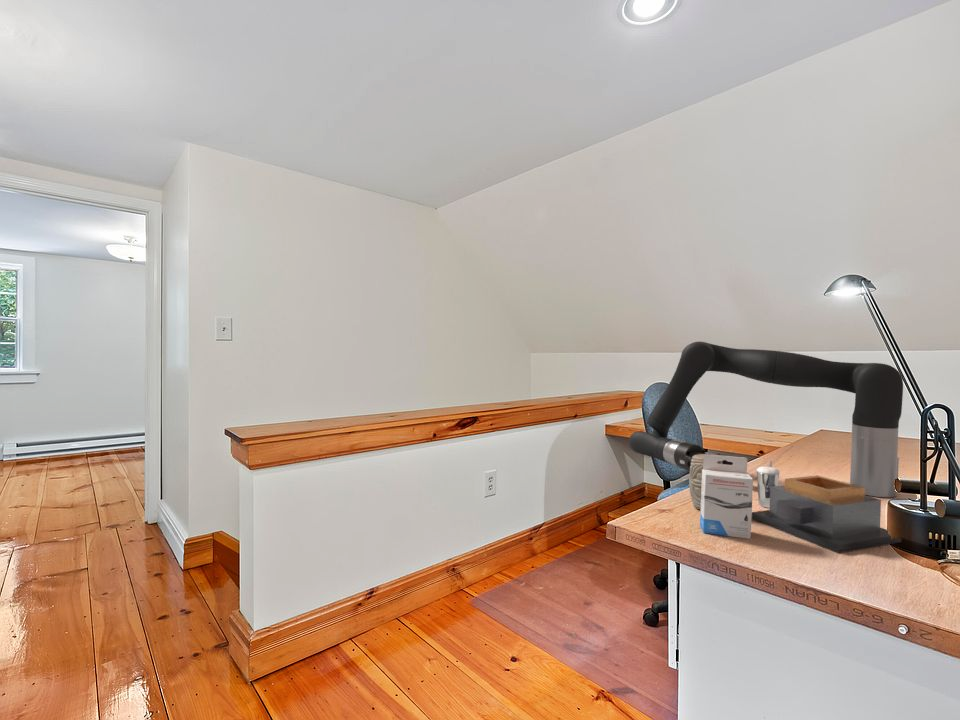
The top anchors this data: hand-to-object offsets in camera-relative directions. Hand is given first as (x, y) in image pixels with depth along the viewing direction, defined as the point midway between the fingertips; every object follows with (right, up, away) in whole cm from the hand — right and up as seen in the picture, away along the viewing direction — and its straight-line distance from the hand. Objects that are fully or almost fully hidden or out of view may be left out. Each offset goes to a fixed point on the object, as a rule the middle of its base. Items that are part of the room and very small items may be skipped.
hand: (730, 468), depth 123 cm
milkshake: (+3, -7, -10) cm, 12 cm away
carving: (-12, -6, -14) cm, 19 cm away
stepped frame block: (+6, -7, -25) cm, 27 cm away
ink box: (-15, -7, -27) cm, 32 cm away
